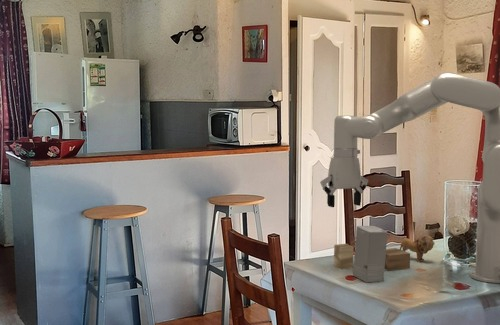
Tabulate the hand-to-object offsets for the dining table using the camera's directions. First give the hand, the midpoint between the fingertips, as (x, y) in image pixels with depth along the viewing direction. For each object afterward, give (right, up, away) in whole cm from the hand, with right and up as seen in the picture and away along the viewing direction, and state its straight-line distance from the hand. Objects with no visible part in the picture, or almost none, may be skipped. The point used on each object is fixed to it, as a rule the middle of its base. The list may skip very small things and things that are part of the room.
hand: (344, 205), depth 196 cm
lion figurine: (+26, -20, +11) cm, 35 cm away
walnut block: (+16, -20, +2) cm, 26 cm away
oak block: (0, -20, +2) cm, 20 cm away
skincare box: (+6, -22, -12) cm, 26 cm away
